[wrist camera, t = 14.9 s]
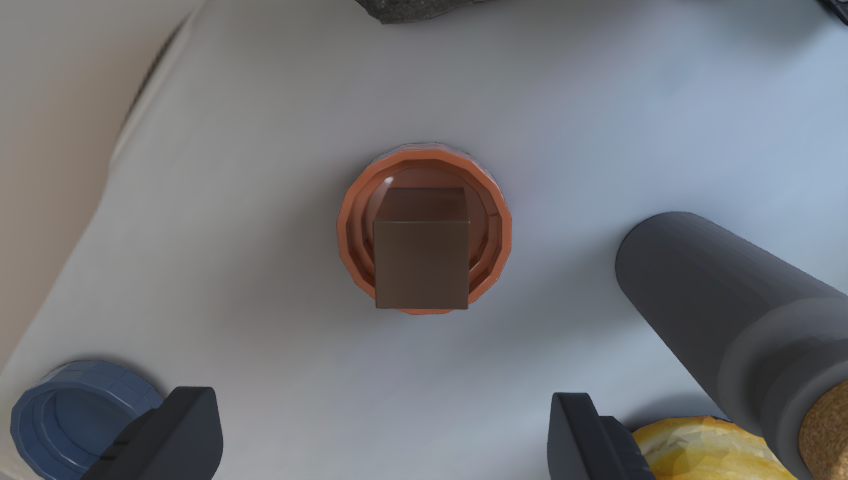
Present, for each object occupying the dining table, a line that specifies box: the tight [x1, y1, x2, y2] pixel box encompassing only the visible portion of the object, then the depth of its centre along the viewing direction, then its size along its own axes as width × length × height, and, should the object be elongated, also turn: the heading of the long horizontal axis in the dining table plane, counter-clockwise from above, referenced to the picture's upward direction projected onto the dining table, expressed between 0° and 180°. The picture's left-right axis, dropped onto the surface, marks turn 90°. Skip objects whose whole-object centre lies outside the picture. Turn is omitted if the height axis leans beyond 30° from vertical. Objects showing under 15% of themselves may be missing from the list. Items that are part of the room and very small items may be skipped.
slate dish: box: [10, 361, 164, 480], centre depth 30 cm, size 9×9×3 cm
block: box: [372, 188, 471, 309], centre depth 23 cm, size 4×4×6 cm
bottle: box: [616, 212, 848, 480], centre depth 19 cm, size 6×6×15 cm
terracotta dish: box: [336, 143, 512, 315], centre depth 25 cm, size 9×9×3 cm
